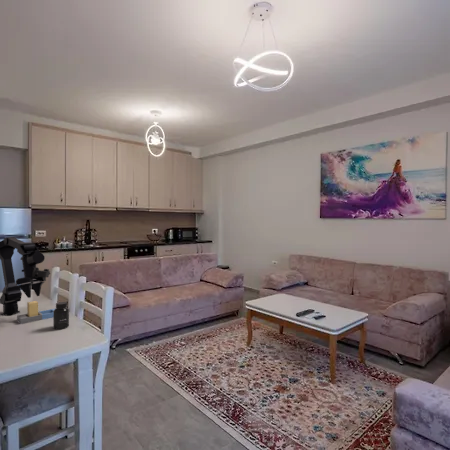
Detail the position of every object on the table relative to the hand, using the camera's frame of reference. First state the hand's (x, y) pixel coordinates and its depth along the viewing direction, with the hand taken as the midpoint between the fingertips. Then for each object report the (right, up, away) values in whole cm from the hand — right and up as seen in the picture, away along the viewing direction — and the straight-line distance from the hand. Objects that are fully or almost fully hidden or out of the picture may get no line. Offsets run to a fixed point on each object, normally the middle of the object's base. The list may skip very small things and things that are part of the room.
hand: (34, 296), depth 159 cm
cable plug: (-4, -13, +5) cm, 14 cm away
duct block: (-1, -13, +7) cm, 15 cm away
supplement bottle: (+17, -14, -6) cm, 23 cm away
